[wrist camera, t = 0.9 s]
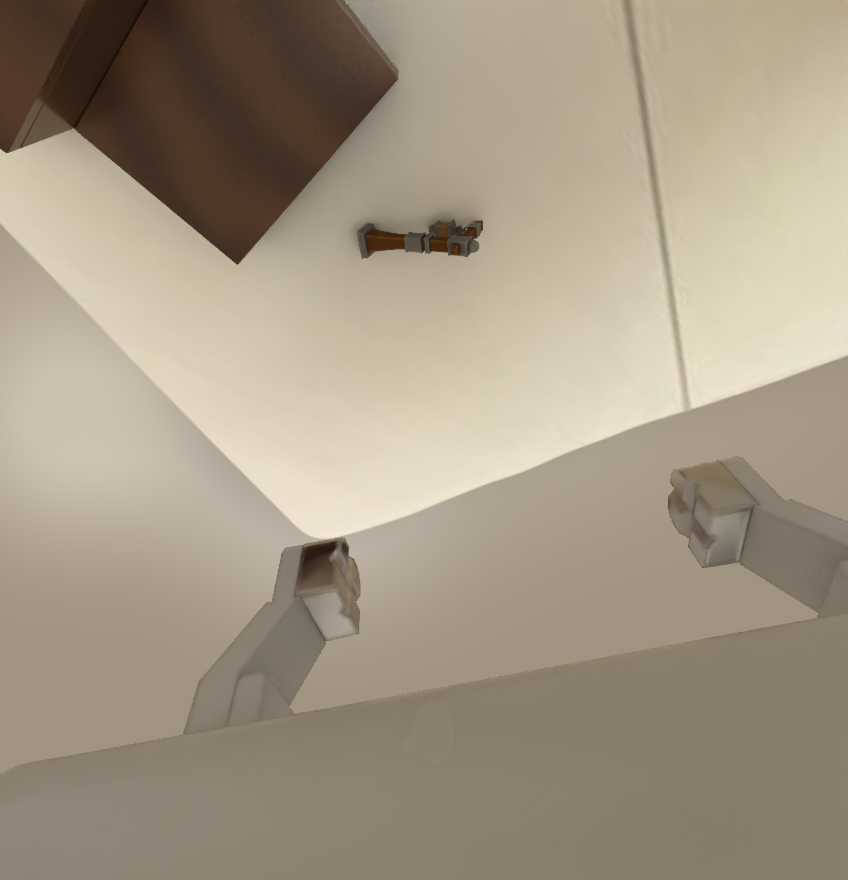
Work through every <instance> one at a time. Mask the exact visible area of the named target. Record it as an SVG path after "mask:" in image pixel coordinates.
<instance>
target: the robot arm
mask: <svg viewBox="0 0 848 880" xmlns="http://www.w3.org/2000/svg"><path fill="white" fill-rule="evenodd" d="M670 483H671V484H672V486H673V487H674V490H673V491H672V492H671V494H670V495H669V496H668V509H669V514H670V518H671V520H672V522H673V524H674V526H675V528H676V529H677V531H678V532H679V533H680V534H682V535H684V536H686V537H688V538H689V544H688V547H689V549H690V550H691V552H692V553H693V555H694V556H695V558H696V559H697V561H698V562H699V564H700V565H701V567H702V568H707V567H714V566H719V565H726V564H732V563H738V562H740V564H741V565H742V566H744V567H745V568H747V569H749V570H750V571H752V572H754V573H755V574H757V575H758V576H760V577H761V578H763V579H765V580H766V581H768V582H770V583H771V584H773V585H774V586H776V587H777V588H779V589H781V590H782V591H784V592H786V593H787V594H789V595H790V596H792V597H794V598H795V599H797V600H798V601H800V602H802V603H803V604H805V605H806V606H808V607H810V608H811V609H813V610H814V611H816V612H818V613H819V614H818V616H817V618H815V619H810V620H804V621H798V622H793V623H787V624H782V625H777V626H771V627H766V628H760V629H755V630H749V631H745V632H738V633H733V634H728V635H723V636H717V637H711V638H707V639H701V640H695V641H690V642H685V643H679V644H674V645H668V646H663V647H658V648H652V649H647V650H642V651H636V652H630V653H625V654H620V655H615V656H609V657H604V658H598V659H593V660H587V661H582V662H576V663H571V664H565V665H560V666H555V667H549V668H544V669H538V670H533V671H527V672H522V673H516V674H511V675H505V676H500V677H495V678H489V679H484V680H478V681H473V682H467V683H462V684H456V685H451V686H445V687H440V688H435V689H429V690H423V691H418V692H413V693H407V694H402V695H396V696H391V697H385V698H380V699H375V700H369V701H364V702H358V703H353V704H347V705H342V706H336V707H331V708H326V709H321V710H315V711H309V712H305V713H298V714H294V713H293V711H292V710H291V708H290V707H289V706H290V704H291V702H292V701H293V699H294V698H295V696H296V694H297V692H298V691H299V689H300V687H301V686H302V684H303V682H304V680H305V679H306V677H307V675H308V673H309V672H310V670H311V668H312V666H313V665H314V663H315V662H316V660H317V658H318V656H319V655H320V653H321V651H322V649H323V648H324V646H325V644H326V641H330V640H334V639H339V638H344V637H348V636H353V635H357V634H359V619H360V610H359V608H358V606H357V603H356V601H357V599H358V598H359V596H360V579H359V573H358V568H357V565H356V563H355V560H354V559H353V558H352V557H350V556H349V555H348V554H349V546H348V544H347V542H346V540H345V538H343V537H341V538H335V539H330V540H324V541H318V542H313V543H307V544H304V545H298V546H293V547H287V548H285V549H284V551H283V552H282V554H281V559H280V564H279V569H278V574H277V579H276V584H275V589H274V594H273V599H272V602H267V603H266V604H265V605H264V606H263V607H262V608H261V610H260V611H259V612H258V613H257V614H256V615H255V616H254V618H253V619H252V620H251V621H250V622H249V623H248V625H247V626H246V627H245V628H244V629H243V630H242V632H241V633H240V634H239V635H238V636H237V638H236V639H235V640H234V641H233V642H232V643H231V644H230V646H229V647H228V648H227V649H226V650H225V652H224V653H223V654H222V655H221V656H220V657H219V658H218V660H217V661H216V662H215V663H214V664H213V665H212V667H211V668H210V669H209V670H208V671H207V672H206V674H205V675H204V676H203V677H202V678H201V679H200V681H199V682H198V686H197V689H196V693H195V696H194V699H193V703H192V706H191V709H190V712H189V716H188V719H187V722H186V726H185V729H184V732H183V735H179V736H174V737H168V738H163V739H158V740H152V741H146V742H141V743H135V744H130V745H125V746H119V747H114V748H109V749H103V750H98V751H92V752H87V753H81V754H76V755H71V756H65V757H59V758H53V759H47V760H40V761H35V762H30V763H26V764H21V765H18V766H15V767H13V768H10V769H8V770H6V771H5V772H3V773H2V774H0V880H848V521H846V520H843V519H840V518H838V517H835V516H833V515H830V514H828V513H825V512H822V511H820V510H817V509H815V508H812V507H810V506H807V505H804V504H802V503H799V502H796V501H794V500H792V499H789V500H783V499H782V498H781V497H780V496H779V495H778V494H777V492H776V491H775V490H774V489H773V488H772V487H771V486H770V485H769V484H768V483H767V482H766V481H765V480H764V479H763V478H762V477H761V476H760V475H759V474H758V473H757V472H756V471H755V470H754V469H753V468H752V467H751V466H750V465H749V464H748V463H747V462H746V461H745V460H744V459H743V458H741V457H739V456H735V457H730V458H725V459H721V460H716V461H712V462H707V463H703V464H698V465H693V466H688V467H684V468H679V469H674V470H673V472H672V473H671V477H670Z"/></svg>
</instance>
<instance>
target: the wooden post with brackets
mask: <svg viewBox="0 0 848 880" xmlns="http://www.w3.org/2000/svg"><path fill="white" fill-rule="evenodd" d="M466 228H467V230H465V229H466ZM462 230H463V231H462ZM482 230H483V221H474V222H473V223H470V224H469V225H468V226H467V227H465V228H464V229H462V226H461V225H460V226H459V227H458V226H457V227H456V225H455V220H452V221H451V222H450V223H447V222H441V221H440V220H439V221H438V222H437V223H436V224H435V225H431V226H430V227H429V232H430V233H429V234H428V235H426V232H425V233H412V232H409V233H408V234H396V233H390V232H383V231H379V230H375V228H374V223H373V224H371V223H368V224H366V225H365V226H364V227H362V228H361V229H360V230H359V231H357V236H358V241H359V247H360V252H361V257H362V259H363V258H368V257H369V256H371V255H372V254H373V253H374V252H376V251H384V250H394V249H405V250H406V252H419V253H423V252H424V251H425V253H428V254H430V253H431V252H432V251H435V252H448V256H449V255H457V256H465V257H468V256H469V255H470V254H471V252H472V253H474V252H477V251H478V249H479V243H478V242H477V241H476V240H474V239H477V238H478V237H479V236H480V233H481V231H482ZM462 232H463V233H462ZM434 235H435V236H434Z"/></svg>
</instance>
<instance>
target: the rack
mask: <svg viewBox="0 0 848 880" xmlns="http://www.w3.org/2000/svg"><path fill="white" fill-rule="evenodd" d="M397 80H398V70H397V68H396V67H395V66H394V65H393V63H392V62H391V61H390V59H389V58H388V57H387V56H386V54H385V53H384V52H383V50H382V49H381V48H380V46H379V45H378V44H377V43H376V41H375V40H374V39H373V37H372V36H371V35H370V34H369V32H368V31H367V30H366V28H365V27H364V26H363V25H362V23H361V22H360V21H359V19H358V18H357V17H356V16H355V14H354V13H353V12H352V10H351V9H350V8H349V7H348V5H347V4H346V3H345V1H344V0H0V149H1V150H3V151H4V152H6V153H9V152H12V151H14V150H17V149H19V148H23V147H25V146H28V145H31V144H33V143H36V142H38V141H41V140H44V139H46V138H49V137H52V136H54V135H57V134H59V133H62V132H65V131H67V130H70V129H73V128H75V130H76V131H77V132H78V133H80V134H81V135H82V136H83V137H84V138H86V139H87V140H88V141H89V142H90V143H92V144H93V145H94V146H95V147H96V148H98V149H99V150H100V151H101V152H102V153H104V154H105V155H106V156H107V157H108V158H110V159H111V160H112V161H113V162H114V163H116V164H117V165H118V166H119V167H120V168H122V169H123V170H124V171H125V172H126V173H128V174H129V175H130V176H131V177H132V178H134V179H135V180H136V181H137V182H138V183H140V184H141V185H142V186H143V187H145V188H146V189H147V190H148V191H149V192H151V193H152V194H153V195H154V196H155V197H157V198H158V199H159V200H160V201H161V202H163V203H164V204H165V205H166V206H167V207H169V208H170V209H171V210H172V211H173V212H175V213H176V214H177V215H178V216H179V217H181V218H182V219H183V220H184V221H185V222H187V223H188V224H189V225H190V226H191V227H193V228H194V229H195V230H196V231H197V232H199V233H200V234H201V235H202V236H203V237H205V238H206V239H207V240H208V241H209V242H211V243H212V244H213V245H214V246H215V247H217V248H218V249H219V250H220V251H221V252H223V253H224V254H225V255H226V256H227V257H229V258H230V259H231V260H232V261H233V262H235V263H236V264H239V263H240V262H241V260H242V259H243V258H244V257H245V256H246V255H247V253H248V252H249V251H250V250H251V249H252V248H253V247H254V245H255V244H256V243H257V242H258V241H259V240H260V238H261V237H262V236H263V235H264V234H265V233H266V231H267V230H268V229H269V228H270V227H271V226H272V225H273V223H274V222H275V221H276V220H277V219H278V218H279V216H280V215H281V214H282V213H283V212H284V211H285V209H286V208H287V207H288V206H289V205H290V204H291V202H292V201H293V200H294V199H295V198H296V197H297V196H298V194H299V193H300V192H301V191H302V190H303V189H304V187H305V186H306V185H307V184H308V183H309V182H310V180H311V179H312V178H313V177H314V176H315V175H316V173H317V172H318V171H319V170H320V169H321V168H322V167H323V165H324V164H325V163H326V162H327V161H328V160H329V158H330V157H331V156H332V155H333V154H334V153H335V151H336V150H337V149H338V148H339V147H340V146H341V145H342V143H343V142H344V141H345V140H346V139H347V138H348V136H349V135H350V134H351V133H352V132H353V131H354V129H355V128H356V127H357V126H358V125H359V124H360V122H361V121H362V120H363V119H364V118H365V117H366V116H367V114H368V113H369V112H370V111H371V110H372V109H373V107H374V106H375V105H376V104H377V103H378V102H379V100H380V99H381V98H382V97H383V96H384V95H385V94H386V92H387V91H388V90H389V89H390V88H391V87H392V85H393V84H394V83H395V82H396V81H397Z"/></svg>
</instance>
